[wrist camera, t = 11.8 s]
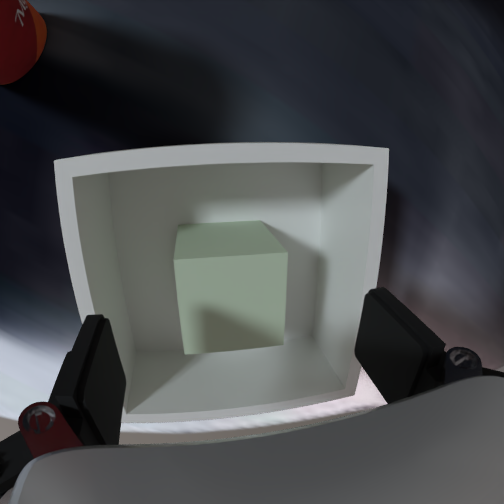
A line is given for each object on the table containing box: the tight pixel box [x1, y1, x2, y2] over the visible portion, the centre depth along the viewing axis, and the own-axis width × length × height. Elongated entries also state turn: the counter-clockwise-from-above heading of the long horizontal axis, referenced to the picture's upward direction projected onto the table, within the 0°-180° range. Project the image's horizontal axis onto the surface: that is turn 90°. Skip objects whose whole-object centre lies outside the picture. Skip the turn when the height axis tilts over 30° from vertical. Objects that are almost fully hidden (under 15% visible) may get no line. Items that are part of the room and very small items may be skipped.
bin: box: [54, 142, 389, 423], centre depth 18 cm, size 15×15×7 cm
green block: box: [174, 220, 288, 355], centre depth 18 cm, size 5×5×6 cm
